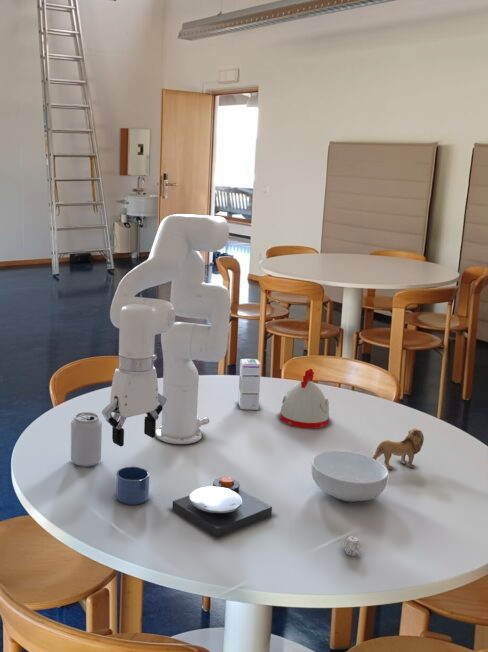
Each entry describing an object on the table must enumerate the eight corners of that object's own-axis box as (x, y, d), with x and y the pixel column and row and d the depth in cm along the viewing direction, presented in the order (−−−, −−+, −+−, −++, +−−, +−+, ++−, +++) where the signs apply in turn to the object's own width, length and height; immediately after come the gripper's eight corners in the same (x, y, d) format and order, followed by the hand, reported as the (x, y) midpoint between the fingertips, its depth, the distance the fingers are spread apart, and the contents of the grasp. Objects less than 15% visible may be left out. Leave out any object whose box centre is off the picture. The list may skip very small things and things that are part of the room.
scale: (225, 489, 164) (226, 475, 163) (272, 515, 153) (273, 500, 152) (171, 509, 154) (171, 494, 153) (216, 538, 143) (217, 522, 142)
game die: (341, 555, 138) (342, 541, 137) (343, 546, 141) (344, 532, 141) (360, 559, 137) (361, 545, 136) (361, 550, 140) (362, 536, 139)
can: (96, 469, 172) (97, 422, 170) (66, 466, 173) (67, 419, 171) (104, 457, 179) (105, 412, 177) (75, 453, 181) (76, 409, 178)
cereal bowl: (344, 518, 152) (347, 487, 151) (294, 485, 167) (296, 457, 165) (402, 502, 160) (405, 473, 158) (349, 473, 174) (351, 446, 173)
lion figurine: (411, 457, 184) (415, 425, 183) (426, 466, 180) (430, 432, 178) (364, 464, 179) (368, 430, 178) (378, 473, 174) (381, 438, 173)
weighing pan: (216, 484, 159) (216, 482, 158) (252, 503, 150) (252, 501, 150) (179, 497, 152) (179, 495, 152) (214, 518, 143) (214, 516, 143)
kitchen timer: (334, 417, 211) (339, 369, 208) (319, 432, 200) (323, 380, 197) (290, 408, 219) (293, 361, 215) (272, 421, 207) (276, 371, 204)
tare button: (226, 481, 161) (226, 475, 161) (235, 485, 159) (235, 480, 159) (217, 484, 159) (217, 478, 159) (226, 488, 157) (226, 483, 157)
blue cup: (135, 488, 163) (136, 463, 162) (155, 500, 157) (156, 475, 156) (109, 496, 159) (110, 471, 157) (128, 509, 153) (129, 483, 152)
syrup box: (258, 410, 216) (262, 364, 213) (239, 409, 216) (242, 363, 213) (256, 403, 222) (259, 358, 219) (237, 403, 222) (239, 358, 219)
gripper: (157, 352, 160) (154, 426, 163) (92, 364, 149) (91, 443, 153) (178, 360, 154) (175, 437, 158) (112, 373, 144) (111, 455, 147)
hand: (134, 439), depth 155 cm, fingers open, 8 cm apart
